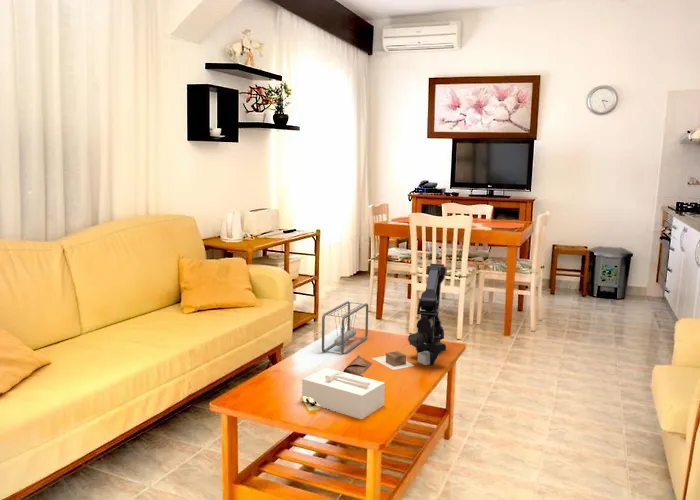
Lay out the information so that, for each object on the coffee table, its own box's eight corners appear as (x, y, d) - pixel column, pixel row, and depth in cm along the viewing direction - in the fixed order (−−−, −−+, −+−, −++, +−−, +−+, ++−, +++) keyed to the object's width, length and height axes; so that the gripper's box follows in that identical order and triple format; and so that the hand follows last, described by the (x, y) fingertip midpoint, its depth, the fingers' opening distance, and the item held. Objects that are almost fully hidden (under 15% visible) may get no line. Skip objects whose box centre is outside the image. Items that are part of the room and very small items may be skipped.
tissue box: (326, 389, 226) (326, 361, 224) (383, 406, 212) (384, 376, 211) (302, 402, 214) (302, 372, 213) (361, 420, 201) (362, 388, 199)
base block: (397, 360, 257) (397, 350, 256) (405, 364, 252) (406, 355, 251) (385, 362, 254) (386, 353, 253) (394, 366, 249) (394, 357, 248)
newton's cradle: (342, 357, 262) (343, 317, 260) (321, 353, 266) (321, 314, 264) (367, 338, 290) (368, 302, 287) (347, 335, 294) (348, 300, 291)
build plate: (392, 356, 264) (392, 354, 264) (414, 367, 251) (415, 365, 250) (371, 360, 258) (371, 358, 258) (393, 372, 245) (393, 369, 245)
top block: (426, 362, 258) (427, 350, 257) (434, 365, 254) (434, 354, 253) (417, 364, 256) (417, 352, 255) (424, 367, 251) (425, 356, 251)
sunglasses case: (363, 378, 237) (355, 363, 237) (348, 385, 240) (340, 370, 240) (375, 364, 254) (368, 349, 254) (361, 370, 256) (354, 356, 257)
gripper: (398, 323, 256) (397, 358, 258) (426, 334, 240) (424, 372, 243) (419, 320, 262) (418, 354, 264) (447, 330, 246) (446, 367, 248)
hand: (425, 362), depth 255 cm, fingers open, 7 cm apart
